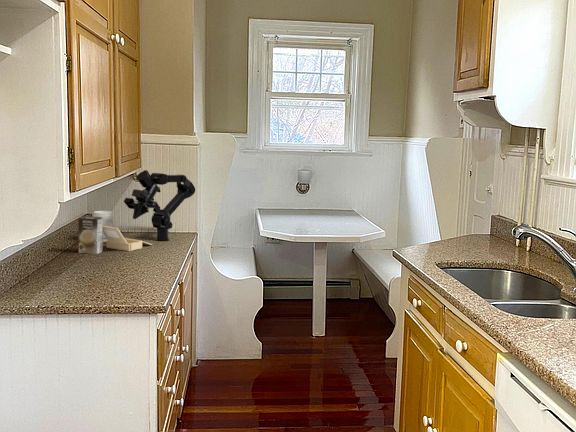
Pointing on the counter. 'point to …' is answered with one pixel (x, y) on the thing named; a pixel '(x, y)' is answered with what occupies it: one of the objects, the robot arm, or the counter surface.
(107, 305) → the counter surface
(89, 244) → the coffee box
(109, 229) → the flap
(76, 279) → the counter surface
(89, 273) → the counter surface
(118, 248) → the carton
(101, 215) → the supplement tub
